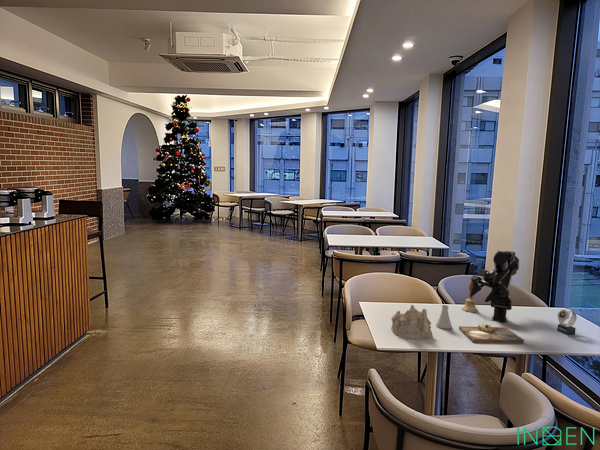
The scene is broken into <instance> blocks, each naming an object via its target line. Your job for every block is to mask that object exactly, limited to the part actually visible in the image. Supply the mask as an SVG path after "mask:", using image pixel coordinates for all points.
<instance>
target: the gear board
mask: <svg viewBox="0 0 600 450" xmlns="http://www.w3.org/2000/svg"><path fill="white" fill-rule="evenodd" d="M458 330H459V331H460V332H461V333H462V334H463V335H464V336H465V337H466V338H467V339H468V340H470V342H471V343H481V344H483V343H485V344H489V343H490V344H522V345H523V344H525V343H524V342H525V340H524V339H523V338H522V337H520V336H519V335H517V334H516V333H515V332H513V331H512V330H510V329H509V328H508V327H505V326H504V327H501V326H491V325H488V324H482V325H481V324H478V326H462V325H460V326H458Z"/></svg>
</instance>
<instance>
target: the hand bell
mask: <svg viewBox="0 0 600 450" xmlns="http://www.w3.org/2000/svg"><path fill="white" fill-rule="evenodd" d="M468 288H469V296H468V298H466V299H465V303H464V304H463V306H461V310H462V311H464V312H466V313H467V312H468V313H478V312H479V310H478V308H477V307H476V301H475V299H473V296H474V295H473V296H472V297H471V296H470V294H471V291H472V288H473V282H472V280H470V282H469V286H468Z"/></svg>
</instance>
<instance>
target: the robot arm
mask: <svg viewBox="0 0 600 450" xmlns="http://www.w3.org/2000/svg"><path fill="white" fill-rule="evenodd" d="M493 265H494V266H493V267H494V268H493V269H491V270H487V269H484V268H480V269H479V272H478V273H477V275H472V276H471V277H470V281H472V282H473V288H472V291H471V294H470V293H469V294H470V296H471V297H472V296H475V295H476V294H477V293H479V292H480V291H481V290H482V288H483V287H487V288H490V289H491V292H489V294H488V295H487V296H486V298H485V300H484V302H485V303H488V302H490V308H493V315H492V317H491V320H492V321H497V322H502V323H507V321H508V317H507V311H510V310H511V311H512V310H513V309H512V306H513V304H512V303H513V302H512V298H511V297H510V295H511V294H510V290H509V289H510V286H511V283H512V282H511V281H512V278H513V276H515V275H516V274H517V273H518V271H519V269H520V259H519V258H518V257H517V256H516V252H515V251H512V250H511V251H509V250H506V251H505V250H504V251H502V250H497V252H496V253H495V254H494V256H493ZM472 298H473V297H472Z"/></svg>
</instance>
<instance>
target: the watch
mask: <svg viewBox="0 0 600 450" xmlns="http://www.w3.org/2000/svg"><path fill="white" fill-rule="evenodd" d="M570 313H571V316H570ZM577 318H578V316H577V313H576V311H574V310H573V309H570V308H563V309H561V310H560V311H558V313H557V320H558V324H557V330H556V331H558V332H559V333H561V332H562V334H563V333H564V335H565V336H573V335H574V336H575V335H576V330H577V328H576V327H574V324H575V323H576V321H577ZM568 319H569V320H568ZM567 320H568V323H565V322H566V321H567Z"/></svg>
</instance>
